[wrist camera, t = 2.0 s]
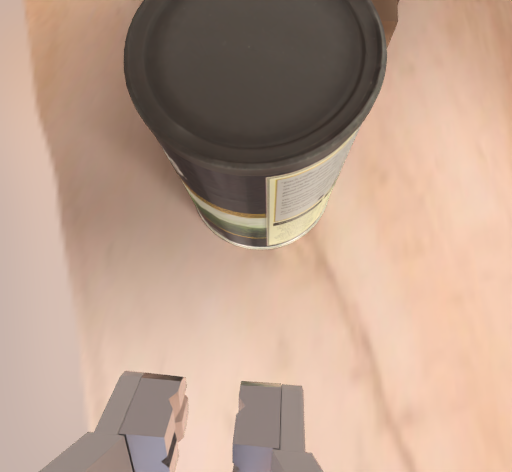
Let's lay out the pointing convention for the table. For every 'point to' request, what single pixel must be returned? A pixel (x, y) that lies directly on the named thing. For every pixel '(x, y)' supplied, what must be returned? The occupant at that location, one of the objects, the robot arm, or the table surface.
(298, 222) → the coffee can
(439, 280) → the table surface
